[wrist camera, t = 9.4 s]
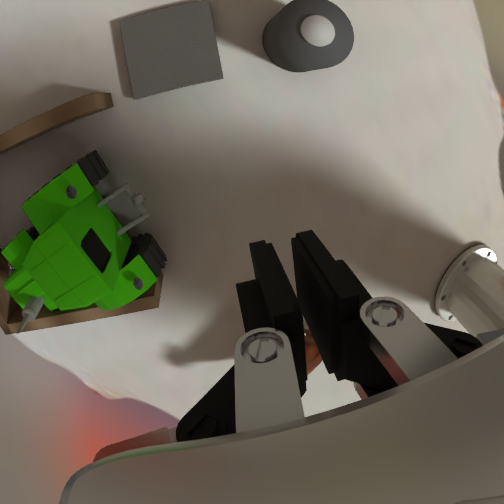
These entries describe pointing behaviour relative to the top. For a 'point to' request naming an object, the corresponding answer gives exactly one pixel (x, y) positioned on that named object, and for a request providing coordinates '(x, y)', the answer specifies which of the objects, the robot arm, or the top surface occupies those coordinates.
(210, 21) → the pad
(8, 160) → the top surface
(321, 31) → the dark grey short cylinder
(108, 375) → the top surface
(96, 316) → the bay
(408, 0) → the top surface
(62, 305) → the toy tractor
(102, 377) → the top surface
